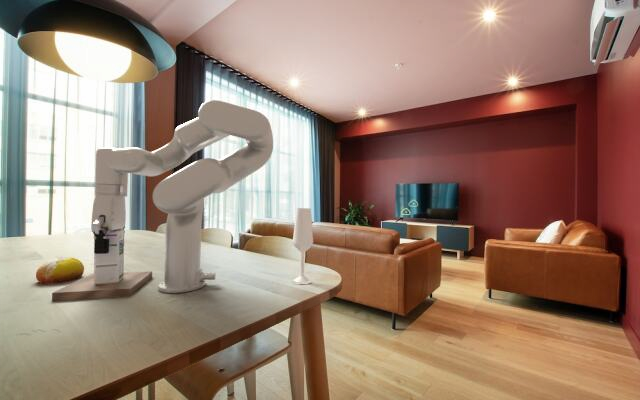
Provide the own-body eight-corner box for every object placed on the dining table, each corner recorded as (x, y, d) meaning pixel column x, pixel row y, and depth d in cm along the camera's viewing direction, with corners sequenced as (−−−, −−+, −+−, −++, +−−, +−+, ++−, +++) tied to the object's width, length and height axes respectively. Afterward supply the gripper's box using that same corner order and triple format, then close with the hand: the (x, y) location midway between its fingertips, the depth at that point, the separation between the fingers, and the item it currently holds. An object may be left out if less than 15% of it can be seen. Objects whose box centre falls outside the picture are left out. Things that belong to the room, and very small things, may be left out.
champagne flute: (287, 282, 88) (289, 208, 88) (299, 277, 94) (301, 208, 94) (304, 286, 85) (306, 208, 85) (316, 281, 90) (317, 208, 91)
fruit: (66, 272, 93) (73, 250, 92) (88, 284, 90) (94, 261, 90) (23, 280, 82) (30, 255, 82) (46, 294, 79) (54, 268, 79)
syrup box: (118, 282, 78) (120, 231, 78) (92, 284, 75) (94, 232, 75) (123, 277, 83) (125, 229, 83) (99, 279, 80) (100, 229, 80)
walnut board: (152, 277, 90) (152, 271, 90) (130, 296, 73) (130, 288, 73) (90, 280, 86) (91, 273, 86) (51, 300, 68) (52, 292, 68)
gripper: (110, 191, 87) (109, 245, 87) (78, 189, 70) (76, 256, 70) (137, 192, 89) (136, 245, 89) (112, 190, 72) (111, 255, 72)
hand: (109, 250), depth 79 cm, fingers open, 9 cm apart
